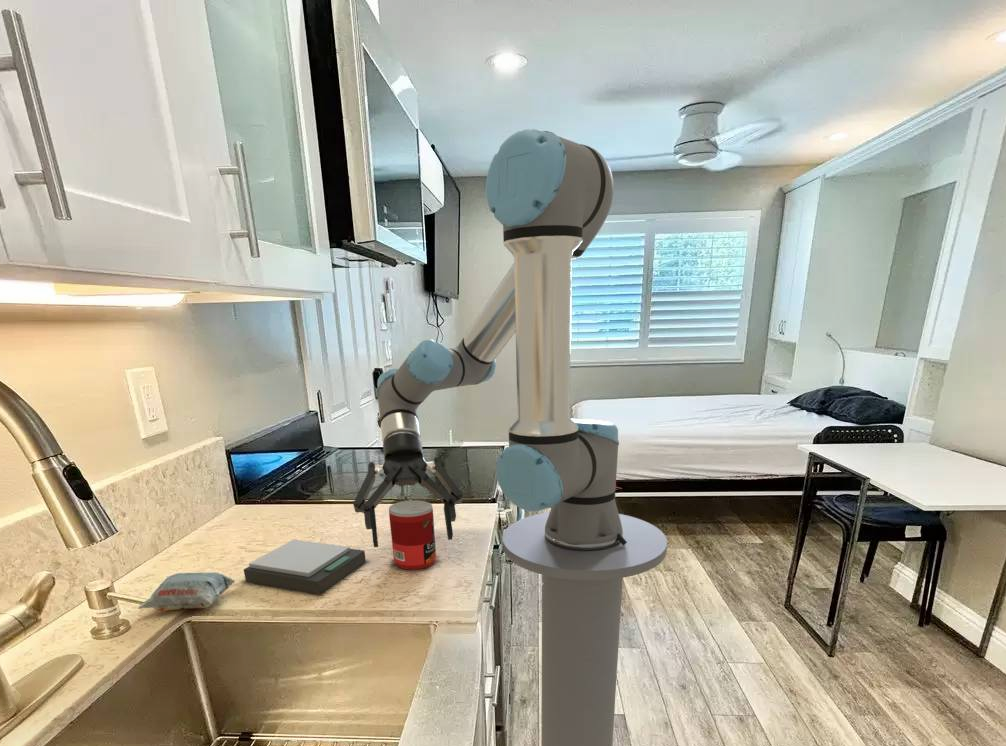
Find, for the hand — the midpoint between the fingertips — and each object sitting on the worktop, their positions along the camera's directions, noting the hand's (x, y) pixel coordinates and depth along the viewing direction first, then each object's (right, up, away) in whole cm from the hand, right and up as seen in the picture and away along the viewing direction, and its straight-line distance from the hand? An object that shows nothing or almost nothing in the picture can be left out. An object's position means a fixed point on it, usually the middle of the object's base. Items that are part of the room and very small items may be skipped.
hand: (413, 540), depth 104 cm
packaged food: (-35, -11, -10) cm, 38 cm away
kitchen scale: (-20, -6, +1) cm, 20 cm away
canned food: (0, -4, +4) cm, 6 cm away
